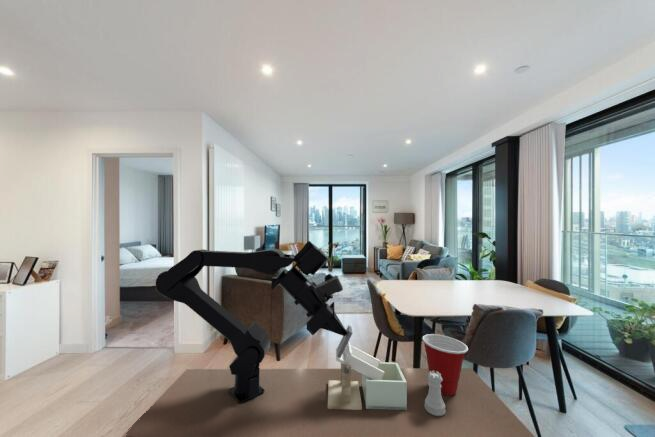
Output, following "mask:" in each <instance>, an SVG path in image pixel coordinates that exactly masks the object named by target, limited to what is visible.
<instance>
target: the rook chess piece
mask: <svg viewBox="0 0 655 437" xmlns="http://www.w3.org/2000/svg"><path fill="white" fill-rule="evenodd" d="M426 378H427V379H428V384H427V385H428V394H427V395H426V398H425V399H424V408H425V410H426V412H427V413H428V414H430V415H431V416H435V417H442V416H444V415H445V413H446V404H445V402H444V399H443V398H442V394H441V387H442V386H441V384H440V383H441V382H442V381H443V379H442V377H441V374H440V373H439V372H436V373H434V371H432V373H431V371H429V370H428V374H427V376H426Z"/></svg>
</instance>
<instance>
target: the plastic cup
mask: <svg viewBox="0 0 655 437" xmlns="http://www.w3.org/2000/svg"><path fill="white" fill-rule="evenodd" d="M422 342H423V344H424V349H425V354H426V361H427V367H428V368H427V370H428V372H429V371H431V373H432V371H434V373H436V372H439V373H440V374H441V377H442V379H443V381H442V382H441V383H440V384H441V386H442V387H441V395H444V396H453V395H455V394H457V391H458V387H459V386H458V385H459V380H460V378H461V372H462V366H463V361H464V358H465V356H466V353H467V352H468V351H469V348H468V345H466V344H465V343H464V342H462V341H460V340H458V339H456V338H454V337H450V336H448V335H442V334H439V333H438V334H437V333H430V334H429V333H427V334H425V335H423V336H422Z"/></svg>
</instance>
